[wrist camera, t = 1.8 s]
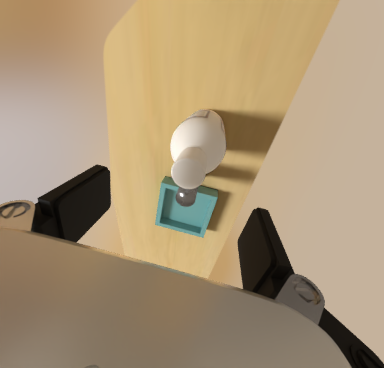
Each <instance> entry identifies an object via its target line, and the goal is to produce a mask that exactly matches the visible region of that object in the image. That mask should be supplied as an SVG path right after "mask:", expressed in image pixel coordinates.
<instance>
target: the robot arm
mask: <svg viewBox="0 0 384 368" xmlns="http://www.w3.org/2000/svg"><path fill="white" fill-rule="evenodd" d="M110 205H111V194H110V171H109V170H108V168H107V167H105V166H101V165H95V166H93V167H92V168H90V169H88V170H86V171H85V172H83V173H81V174H79V175H78V176H76V177H74V178H72V179H71V180H69V181H67V182H65V183H64V184H62V185H60V186H59V187H57V188H55V189H53V190H51V191H50V192H48V193H46V194H44V195H43V196H41V197H39V198H38V203H36V204H34V203H33V202H31V201H27V200H16V201H10V202H7V203H3V204H1V205H0V368H384V364H383V362H382V361H381V360H380V359H379V358H378V356H377V355H376V354H375V353H374V352H373V351H372V350H371V349H369V348H368V347H367V346H366V345H365V344H364V343H363V342H362V341H361V340H359V339H358V338H357V337H356V336H355V335H354V334H353V333H352V332H350V331H349V330H348V329H347V328H346V327H345V326H344V325H343V324H342V323H341V322H339V321H338V320H337V319H336V318H335V317H334V316H333V315H332V314H330V312H328V311H327V310H326V309H325V308H324V305H325V300H324V297H323V295H322V293H321V292H320V290H319V289H318V288H317V286H316V285H315V284H314V283H313V282H311V281H310V280H309V279H307V278H306V277H304V276H302V275H298V274H295V273H294V271H293V269H292V266H291V264H290V261H289V259H288V257H287V254H286V252H285V249H284V247H283V245H282V242H281V240H280V238H279V235H278V233H277V231H276V228H275V226H274V224H273V221H272V219H271V216H270V214H269V212H268V210H266V209H262V208H257V209H254V210H253V211H252V213H251V215H250V217H249V219H248V221H247V223H246V225H245V227H244V229H243V231H242V233H241V235H240V237H239V239H238V251H239V259H240V267H241V275H242V283H243V289H240V288H237V287H233V286H230V285H227V284H223V283H220V282H217V281H213V280H209V279H206V278H203V277H199V276H195V275H192V274H188V273H185V272H181V271H178V270H174V269H171V268H167V267H163V266H160V265H156V264H153V263H149V262H145V261H142V260H138V259H134V258H131V257H127V256H124V255H120V254H116V253H112V252H109V251H105V250H101V249H97V248H94V247H90V246H86V245H83V244H79V243H76V242H77V241H78V240H79V239H80V238H81V237H82V236H83V235H84V234H85V233H86V232H87V231H88V230H89V229H90V228H91V227H92V226H93V225H94V224H95V223H96V222H97V221H98V220H99V219H100V218H101V216H102V215H103V214H104V213H105V212H106V211H107V210H108V209H109V208H110Z"/></svg>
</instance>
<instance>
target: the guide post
mask: <svg viewBox="0 0 384 368" xmlns="http://www.w3.org/2000/svg"><path fill="white" fill-rule="evenodd" d="M197 191H198V187H196V188H194V189H185V188H182V187H180V186H179V189H178V191H177V193H176V196H175V198H176V201H177V203H178V204H179V205H181V206H184V207H189V206H192V205H193V204H194V203H195V200H196V195H197Z"/></svg>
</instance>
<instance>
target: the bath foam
mask: <svg viewBox="0 0 384 368" xmlns="http://www.w3.org/2000/svg"><path fill="white" fill-rule="evenodd" d="M225 152H226V137H225V130H224V124H223V121H222V119H221V117H220V116H219V115H218V114H217V113H216V112H214V111H212V110H209V109H201V110H198V111H196V112H195V113H193V114H192V115H191V116H189V117H188V118H187V119H186V120H185V121H183V122H182V123H181V124H180V125H179V126H178V127H177V128H176V130H175V132H174V134H173V136H172V139H171V155H172V158H173V160H174V164H173V166H172V169H171V175H172V178H173V180H174V182H175V183H176V184H177V185H178V186H180V187H182V188H185V189H194V188H196V187H198V186H200V185H201V184H202V182H203V181H204V179H205V174H207V173H209V172H211V171H213V170H214V169H215V168H216V167H217V166H218V165H219V164H220V163H221V161H222V160H223V158H224V155H225Z"/></svg>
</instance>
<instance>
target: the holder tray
mask: <svg viewBox="0 0 384 368" xmlns="http://www.w3.org/2000/svg"><path fill="white" fill-rule="evenodd" d="M178 189H179V186H178V185H177V184H176V183H175V182H174V180H173V178H170V177H166V176H165V178H164V179H163V181H162V182H161V188H160V195H159V202H158V209H157V215H156V222H155V225H158V226H162V227H165V228H169V229H173V230H177V231H180V232H184V233H188V234H191V235H195V236H199V237H202V238H203V237H204V234H205V232H206V229H207V226H208V223H209V220H210V218H211V215H212V212H213V209H214V207H215V204H216V201H217V198H218V190H215V189H211V188H208V187H204V186H198V191H197V195H196V200H195V203H194V204H193V205H192V206H189V207H184V206H181V205H179V204H178V203H177V201H176V198H175V196H176V193H177V191H178Z"/></svg>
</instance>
